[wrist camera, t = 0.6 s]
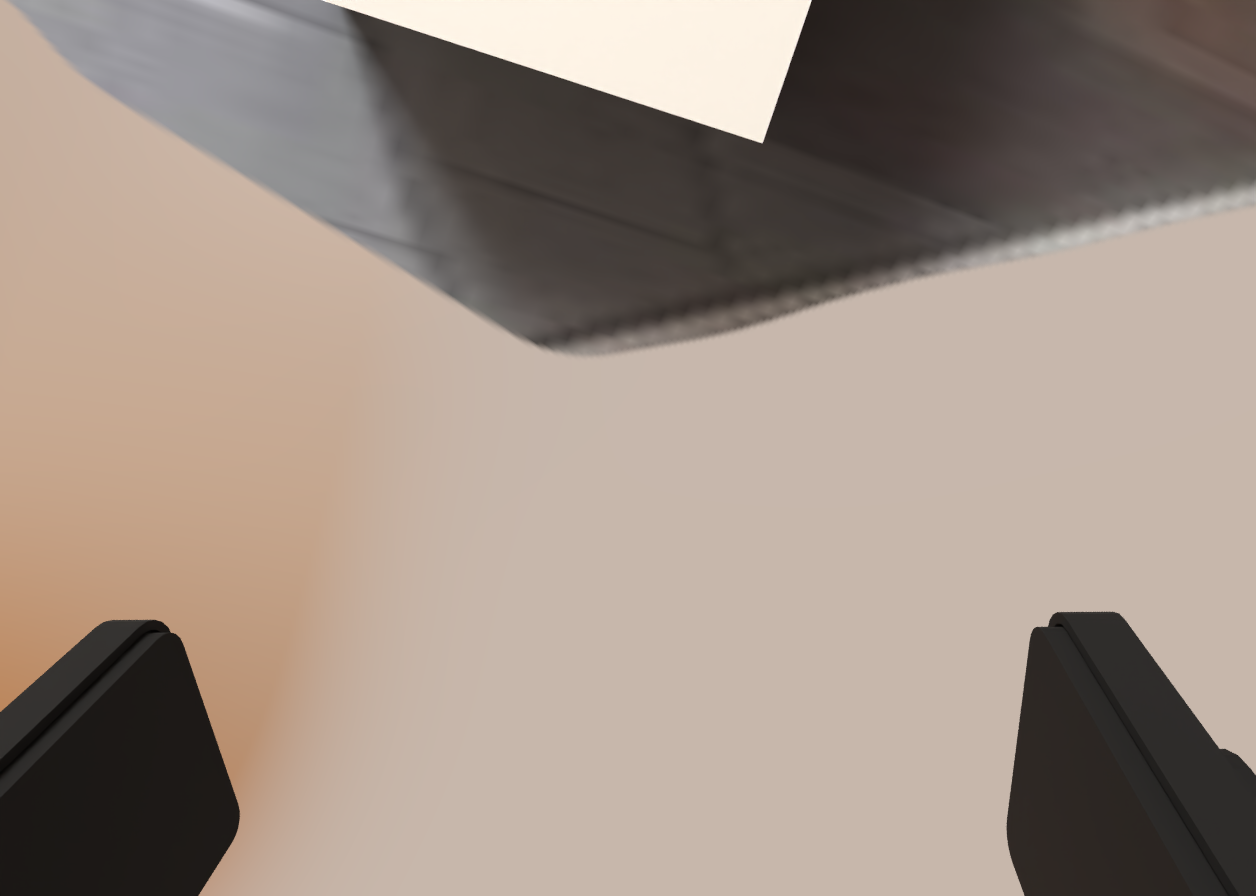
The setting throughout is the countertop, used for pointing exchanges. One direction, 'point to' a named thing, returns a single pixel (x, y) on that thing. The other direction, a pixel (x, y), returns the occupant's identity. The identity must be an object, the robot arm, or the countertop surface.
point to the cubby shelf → (631, 47)
